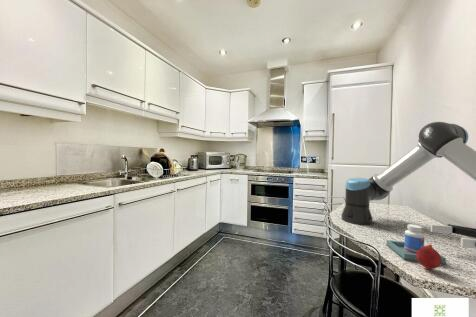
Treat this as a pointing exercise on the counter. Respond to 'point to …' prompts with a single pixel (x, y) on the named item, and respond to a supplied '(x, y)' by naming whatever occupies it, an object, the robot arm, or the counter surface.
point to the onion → (428, 257)
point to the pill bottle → (413, 239)
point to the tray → (399, 249)
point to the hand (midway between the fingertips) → (444, 234)
